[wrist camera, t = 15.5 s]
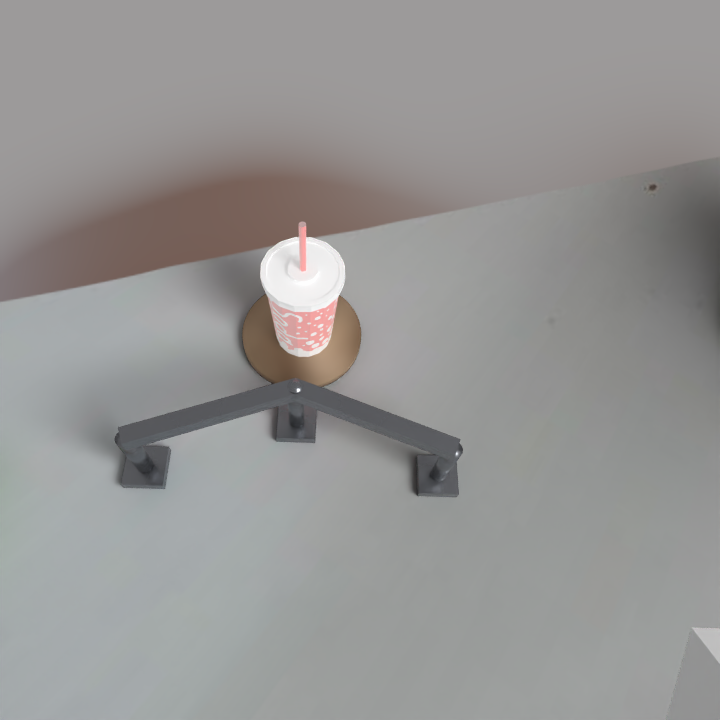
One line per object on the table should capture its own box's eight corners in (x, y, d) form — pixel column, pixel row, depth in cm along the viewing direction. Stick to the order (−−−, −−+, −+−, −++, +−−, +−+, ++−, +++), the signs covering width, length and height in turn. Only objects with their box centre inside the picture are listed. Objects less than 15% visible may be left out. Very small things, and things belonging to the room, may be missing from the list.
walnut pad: (360, 291, 55) (361, 286, 54) (360, 392, 50) (360, 388, 49) (248, 285, 54) (248, 280, 53) (237, 387, 50) (236, 383, 49)
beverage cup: (253, 324, 51) (236, 212, 39) (313, 291, 53) (315, 175, 41) (293, 378, 49) (288, 278, 37) (354, 341, 51) (368, 236, 39)
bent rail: (450, 412, 50) (472, 372, 43) (456, 497, 47) (480, 467, 40) (140, 401, 48) (114, 357, 42) (123, 487, 45) (92, 455, 39)
